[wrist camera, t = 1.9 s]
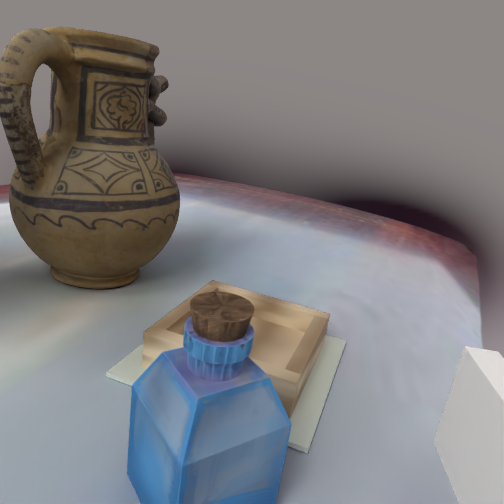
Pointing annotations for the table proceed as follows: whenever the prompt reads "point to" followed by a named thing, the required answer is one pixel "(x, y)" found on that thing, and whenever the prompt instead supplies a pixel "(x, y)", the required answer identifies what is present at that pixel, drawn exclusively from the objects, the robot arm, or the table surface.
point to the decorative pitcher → (88, 155)
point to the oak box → (257, 339)
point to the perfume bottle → (208, 415)
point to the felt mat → (308, 402)
